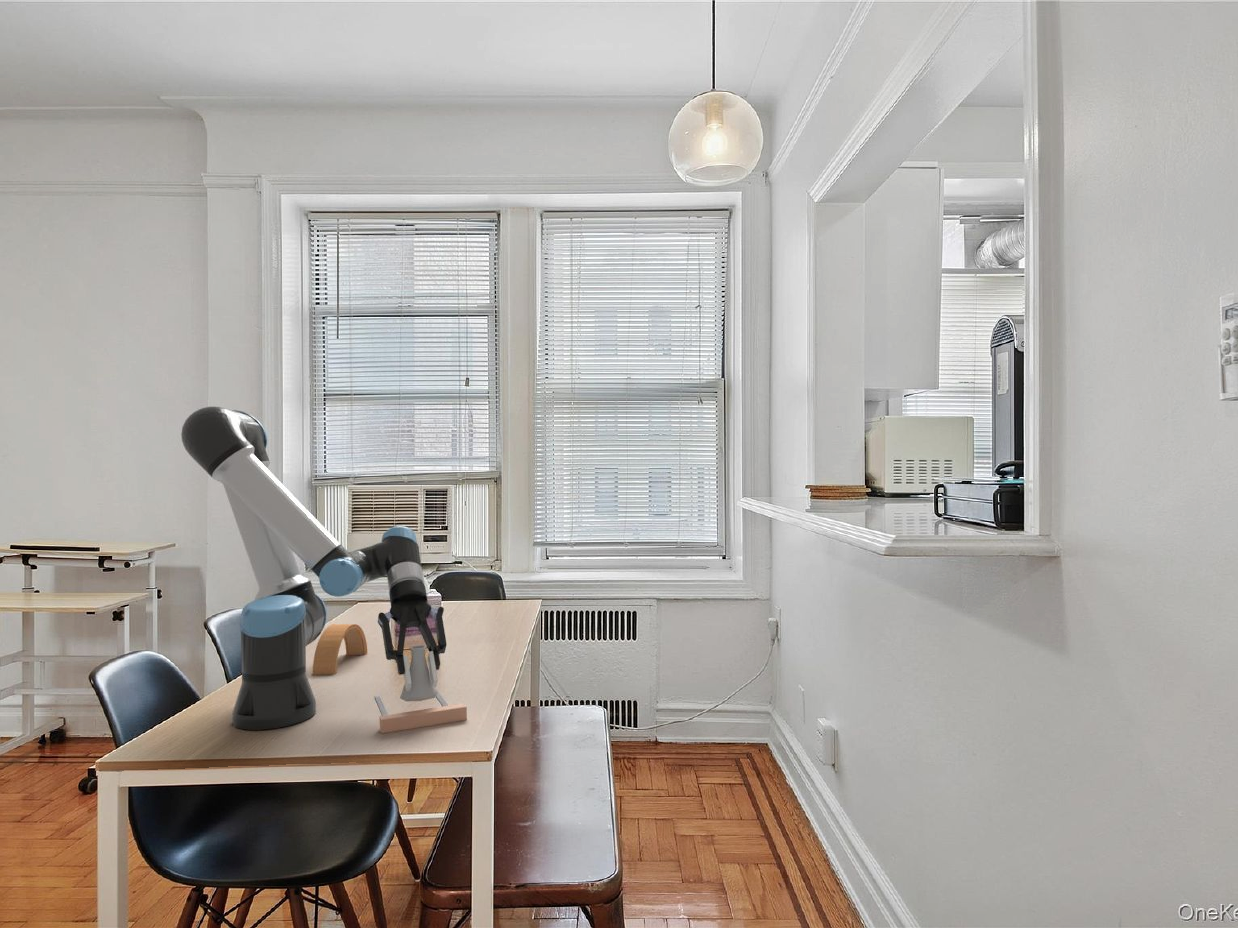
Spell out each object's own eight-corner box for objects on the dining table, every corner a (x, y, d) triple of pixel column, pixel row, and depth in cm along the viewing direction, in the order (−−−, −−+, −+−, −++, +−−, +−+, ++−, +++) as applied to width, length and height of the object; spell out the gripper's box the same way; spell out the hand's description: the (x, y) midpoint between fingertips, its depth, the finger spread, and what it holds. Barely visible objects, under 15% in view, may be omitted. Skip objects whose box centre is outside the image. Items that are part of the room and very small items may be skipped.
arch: (368, 654, 197) (367, 617, 198) (335, 674, 178) (334, 633, 178) (347, 654, 198) (346, 617, 198) (311, 674, 178) (311, 633, 178)
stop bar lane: (381, 733, 136) (381, 719, 136) (367, 698, 157) (367, 686, 158) (466, 719, 143) (466, 706, 143) (442, 687, 164) (442, 676, 164)
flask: (398, 694, 147) (397, 644, 147) (435, 689, 150) (434, 640, 150) (401, 704, 140) (400, 652, 140) (439, 699, 143) (439, 648, 143)
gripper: (445, 595, 163) (463, 689, 148) (363, 602, 155) (373, 702, 140) (450, 574, 158) (469, 669, 143) (365, 581, 151) (376, 681, 136)
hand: (422, 685), depth 142 cm, fingers closed on flask, 4 cm apart
